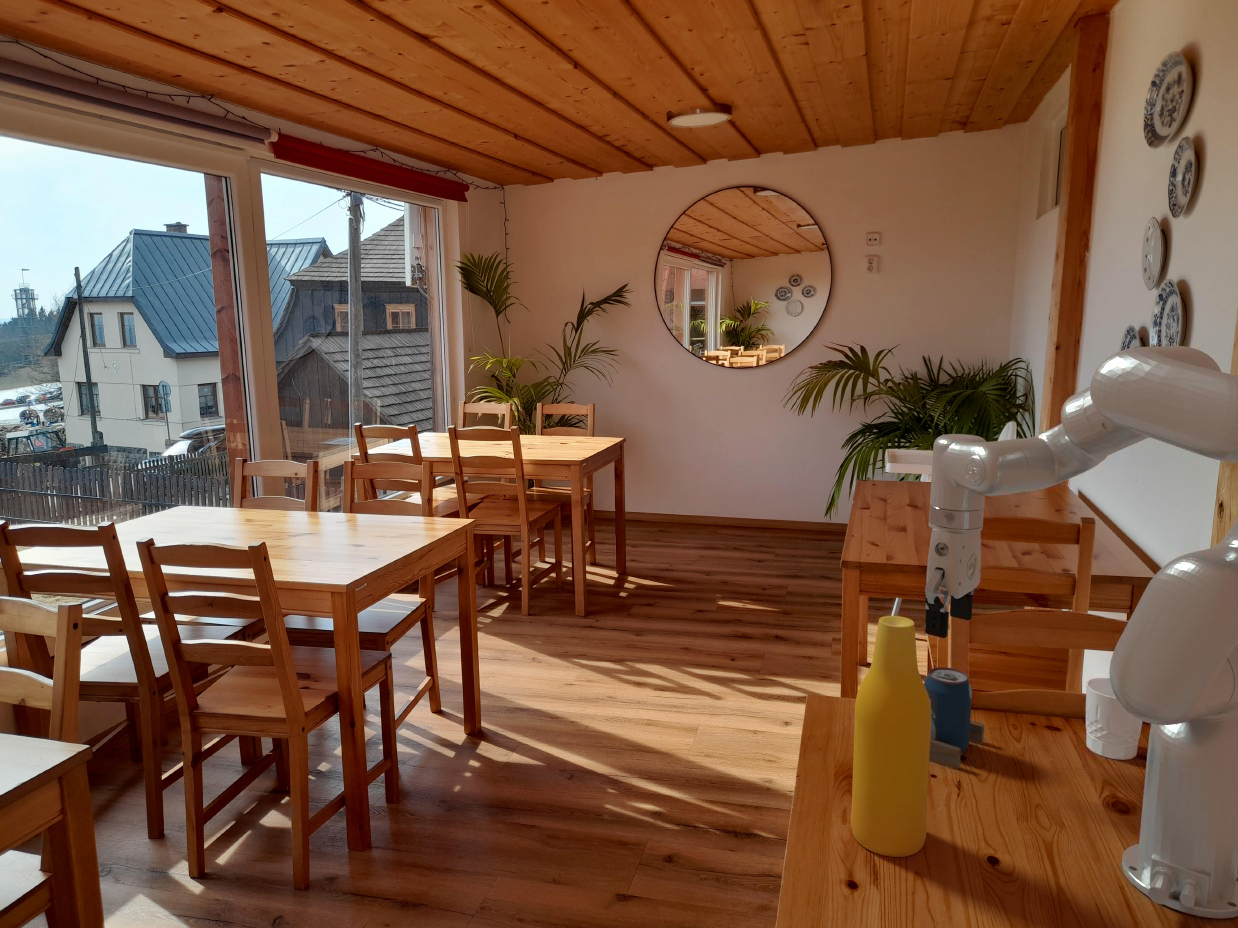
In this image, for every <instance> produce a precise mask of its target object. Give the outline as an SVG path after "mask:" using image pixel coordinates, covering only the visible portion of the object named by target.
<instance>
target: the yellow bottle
mask: <svg viewBox="0 0 1238 928" xmlns="http://www.w3.org/2000/svg"><path fill="white" fill-rule="evenodd" d="M915 628H916V627H915V622H914V621H913V620H912V619H910V618H908V617H904V616H899V615H885V616H881V617H879V618H878V622H877V629H876V636H875V643H874V650H873V654H872V655H873V656H872V661H871V665H870V667H869V669H868V671H867V673H866V674H865V676H864V678H863V680H862V681H861V684H860V685H859V688H858V689H857V690H858V691H857V694H856V699H855V703H854V732H853V733H854V735H853V756H852V757H853V761H852V762H853V763H852V764H853V765H852V793H851V810H850V828H851V832H852V835H853V837H854V839H855V840H856V842H858V843H859V844H860V845H861V846H862V847H863V848H865V849H867V850H868V851H871V852H873V853H875V854H878V855H881V856H885V857H891V858H902V857H903V858H904V857H909V856H912V855H915V854H916V853H918V852H919V851H920V850H922V848H923V847H924V845H925V841H926V839H927V838H926V837H927V814H928V812H927V811H928V793H929V792H928V791H929V772H930V770H929V767H930V760H929V753H930V733H931V704H930V699H929V696H928V693H927V690H926V688H925V686H924V680H923V679H922V677H921V674H920V671H919V668H918V657H917V643H916V642H917V641H916V629H915Z"/></svg>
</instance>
